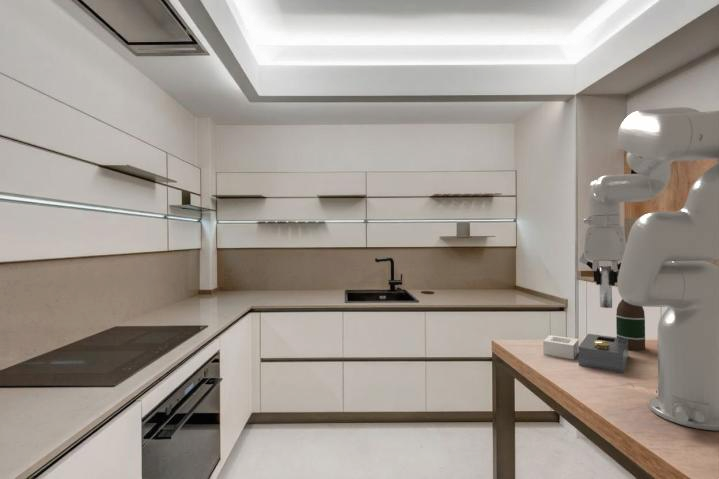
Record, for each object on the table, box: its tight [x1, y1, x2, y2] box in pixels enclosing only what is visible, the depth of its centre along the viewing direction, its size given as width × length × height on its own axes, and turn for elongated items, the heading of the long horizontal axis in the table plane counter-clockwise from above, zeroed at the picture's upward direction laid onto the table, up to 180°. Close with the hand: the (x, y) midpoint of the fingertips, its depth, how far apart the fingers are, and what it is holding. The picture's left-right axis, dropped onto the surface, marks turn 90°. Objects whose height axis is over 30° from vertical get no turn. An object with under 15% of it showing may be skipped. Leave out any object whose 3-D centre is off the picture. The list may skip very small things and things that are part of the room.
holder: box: [542, 334, 580, 360], centre depth 112 cm, size 8×8×5 cm
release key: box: [594, 340, 610, 349], centre depth 102 cm, size 4×4×6 cm
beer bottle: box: [615, 298, 646, 352], centre depth 116 cm, size 8×8×24 cm
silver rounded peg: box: [598, 265, 613, 309], centre depth 108 cm, size 3×3×12 cm
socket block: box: [578, 333, 629, 374], centre depth 105 cm, size 17×10×6 cm, turn 140°
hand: (605, 284), depth 108 cm, fingers closed on silver rounded peg, 3 cm apart
